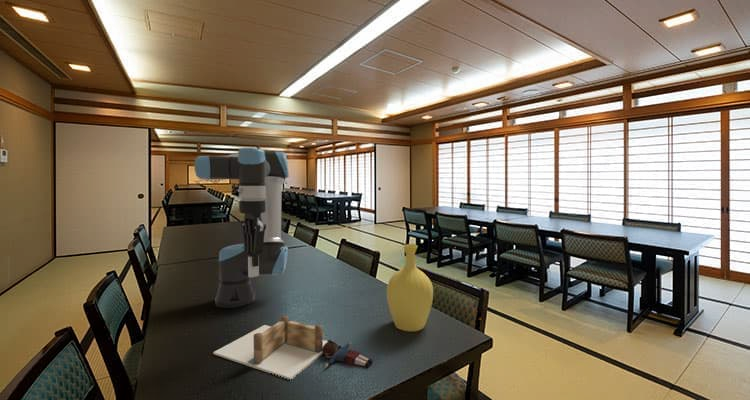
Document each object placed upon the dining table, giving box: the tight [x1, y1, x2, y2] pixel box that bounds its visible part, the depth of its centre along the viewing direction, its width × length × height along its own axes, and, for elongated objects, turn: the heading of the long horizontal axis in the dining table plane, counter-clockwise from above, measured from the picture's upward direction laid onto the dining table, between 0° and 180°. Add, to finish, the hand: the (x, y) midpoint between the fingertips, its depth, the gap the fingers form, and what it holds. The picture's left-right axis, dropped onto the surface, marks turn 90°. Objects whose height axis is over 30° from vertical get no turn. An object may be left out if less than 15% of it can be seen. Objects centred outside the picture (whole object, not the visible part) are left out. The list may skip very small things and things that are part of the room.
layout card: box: [212, 324, 328, 381], centre depth 97 cm, size 28×20×1 cm
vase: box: [386, 243, 434, 332], centre depth 113 cm, size 16×16×28 cm
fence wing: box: [254, 315, 289, 363], centre depth 94 cm, size 15×2×7 cm, turn 162°
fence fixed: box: [288, 320, 324, 352], centre depth 97 cm, size 12×2×7 cm, turn 65°
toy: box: [322, 339, 373, 369], centre depth 91 cm, size 14×5×15 cm
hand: (253, 276), depth 100 cm, fingers closed
